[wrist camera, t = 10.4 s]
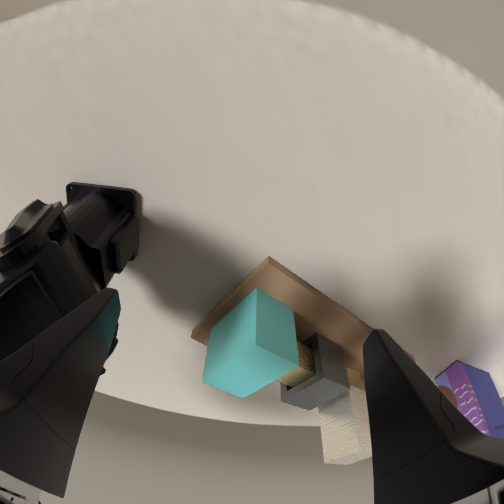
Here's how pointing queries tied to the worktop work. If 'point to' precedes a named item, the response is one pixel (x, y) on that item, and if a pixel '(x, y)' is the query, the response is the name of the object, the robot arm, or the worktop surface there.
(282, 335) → the socket block
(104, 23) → the worktop surface
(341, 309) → the base board
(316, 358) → the sleeve
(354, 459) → the white-capped post
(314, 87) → the worktop surface
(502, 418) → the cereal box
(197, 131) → the worktop surface
